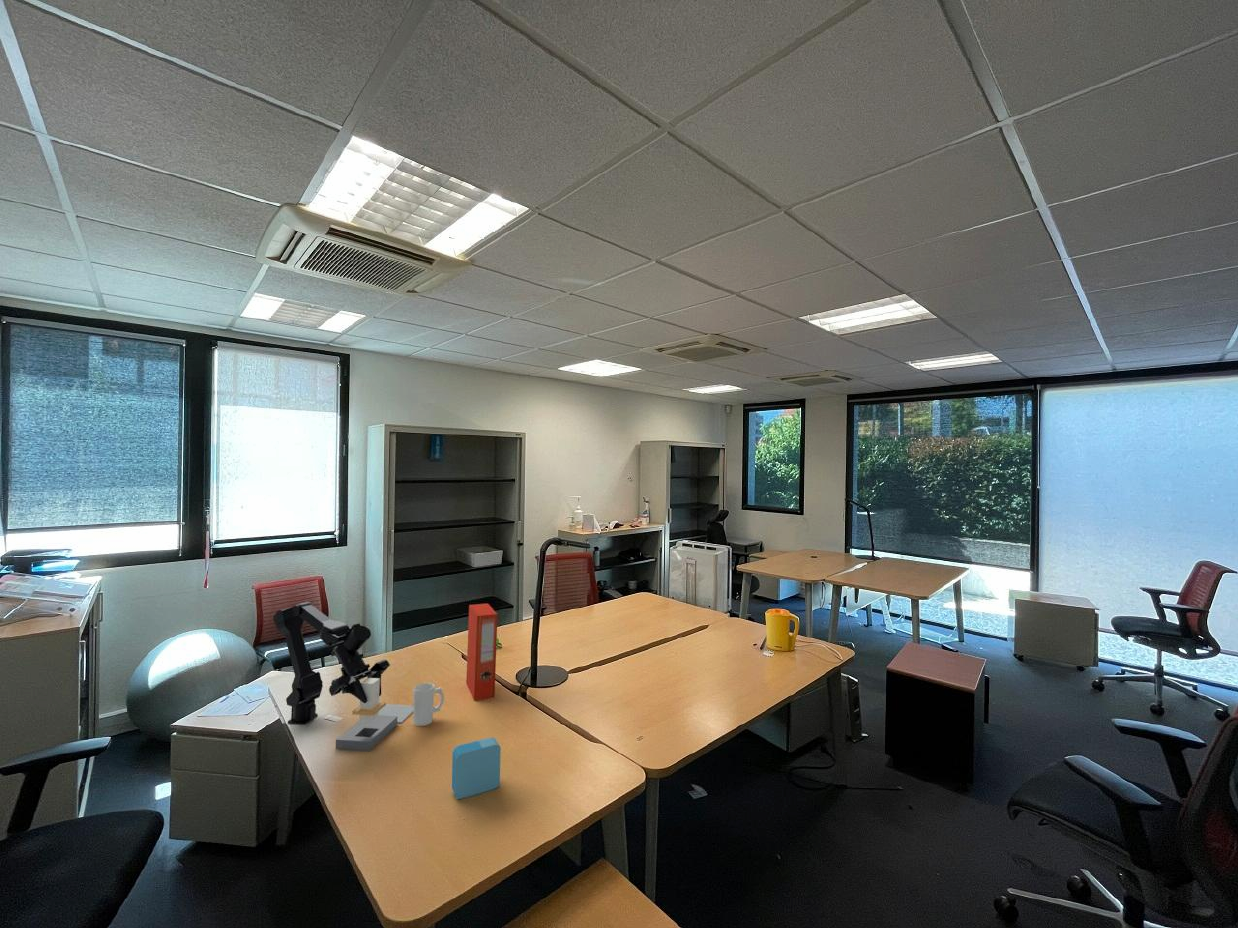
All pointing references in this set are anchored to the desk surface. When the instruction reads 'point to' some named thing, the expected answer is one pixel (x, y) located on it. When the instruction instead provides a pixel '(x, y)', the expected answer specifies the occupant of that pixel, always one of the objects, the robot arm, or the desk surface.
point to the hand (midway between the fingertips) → (373, 698)
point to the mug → (425, 703)
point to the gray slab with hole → (366, 733)
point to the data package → (475, 767)
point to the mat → (397, 711)
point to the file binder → (481, 651)
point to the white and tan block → (370, 701)
